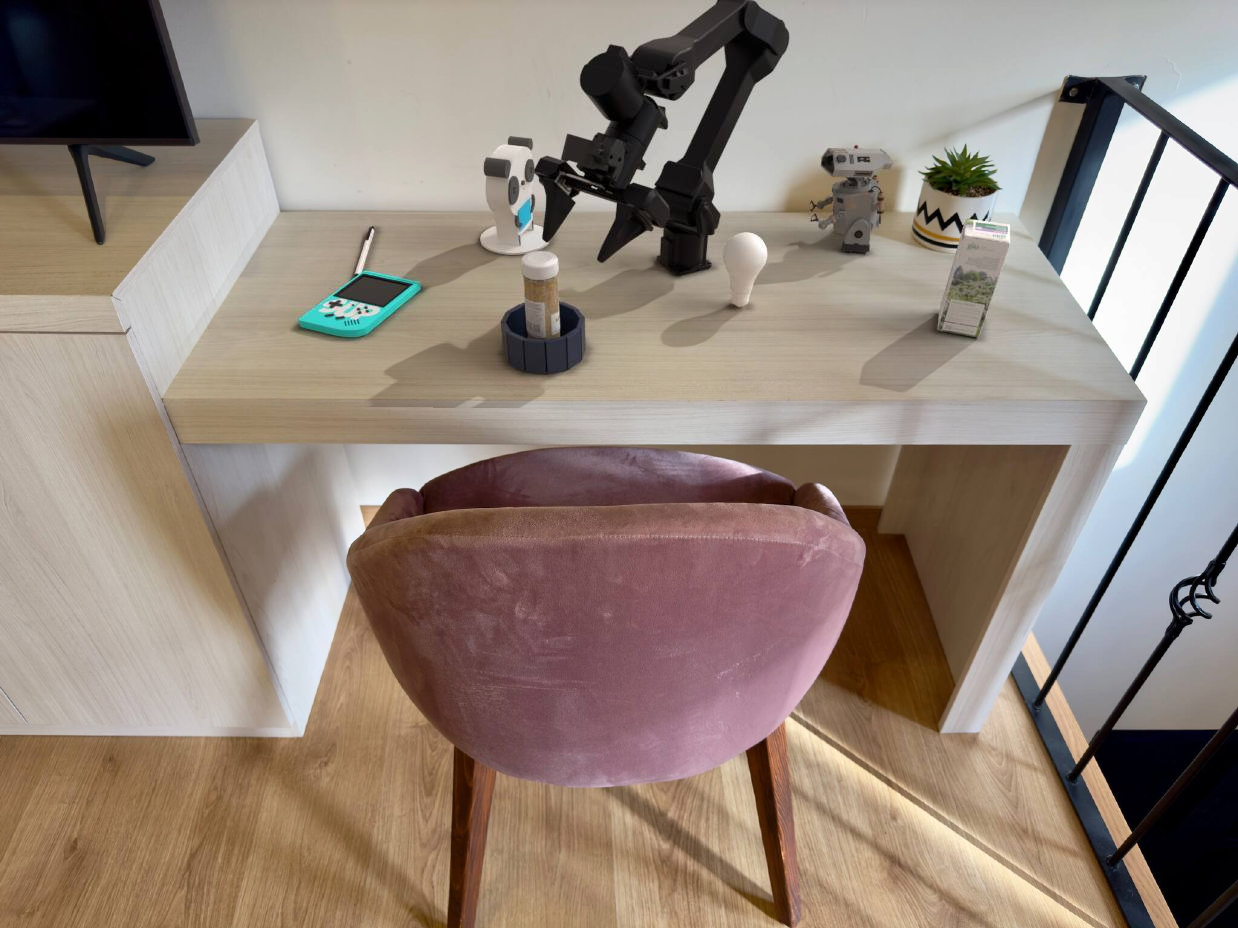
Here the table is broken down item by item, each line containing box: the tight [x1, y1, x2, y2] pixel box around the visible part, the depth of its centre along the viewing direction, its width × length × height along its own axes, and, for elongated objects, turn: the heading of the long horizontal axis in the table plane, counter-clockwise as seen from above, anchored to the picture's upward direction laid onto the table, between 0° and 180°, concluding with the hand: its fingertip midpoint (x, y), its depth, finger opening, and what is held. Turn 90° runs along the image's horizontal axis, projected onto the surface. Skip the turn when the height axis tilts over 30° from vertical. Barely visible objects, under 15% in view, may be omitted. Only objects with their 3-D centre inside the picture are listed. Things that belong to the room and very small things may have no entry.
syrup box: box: [936, 218, 1011, 338], centre depth 115 cm, size 6×6×14 cm
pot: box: [500, 300, 586, 375], centre depth 112 cm, size 11×11×5 cm
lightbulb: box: [722, 231, 768, 308], centre depth 120 cm, size 6×6×11 cm
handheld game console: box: [297, 270, 422, 338], centre depth 122 cm, size 10×16×1 cm, turn 158°
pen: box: [353, 225, 375, 278], centre depth 135 cm, size 1×19×1 cm, turn 5°
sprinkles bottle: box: [520, 250, 560, 340], centre depth 109 cm, size 5×5×14 cm
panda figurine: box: [479, 135, 551, 256], centre depth 135 cm, size 12×11×15 cm
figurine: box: [809, 144, 894, 255], centre depth 136 cm, size 9×12×15 cm
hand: (571, 251), depth 109 cm, fingers open, 9 cm apart
